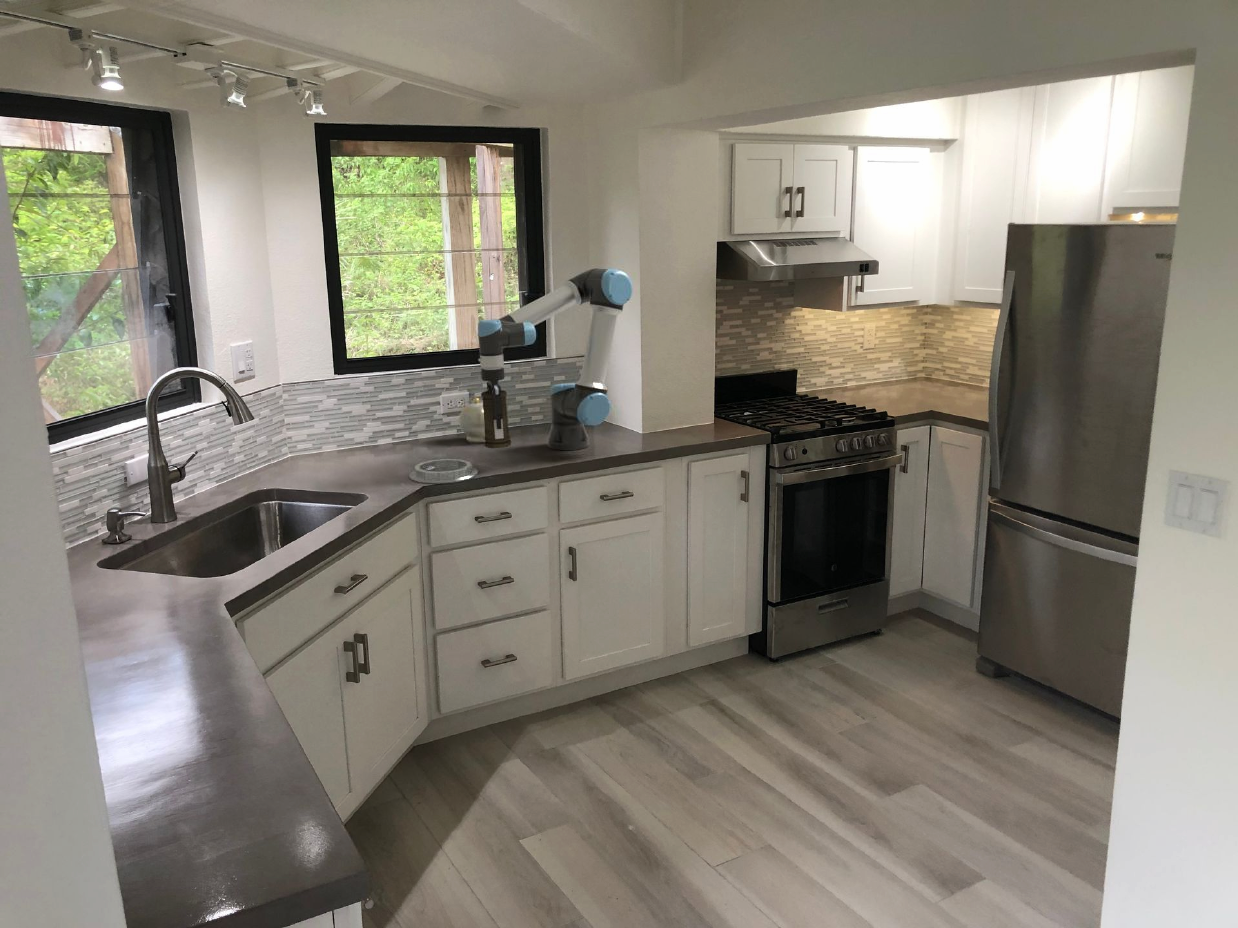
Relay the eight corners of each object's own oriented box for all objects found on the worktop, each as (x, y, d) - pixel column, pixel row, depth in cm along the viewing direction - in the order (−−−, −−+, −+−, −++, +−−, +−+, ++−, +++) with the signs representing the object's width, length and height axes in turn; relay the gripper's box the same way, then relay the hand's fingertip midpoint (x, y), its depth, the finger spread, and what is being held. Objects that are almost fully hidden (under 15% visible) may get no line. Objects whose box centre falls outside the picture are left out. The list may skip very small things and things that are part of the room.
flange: (472, 464, 330) (472, 455, 329) (482, 480, 309) (481, 471, 308) (407, 469, 324) (406, 460, 323) (412, 486, 303) (411, 476, 303)
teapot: (451, 441, 364) (448, 398, 360) (476, 435, 375) (474, 393, 371) (486, 447, 354) (484, 403, 350) (511, 440, 364) (509, 397, 360)
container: (506, 448, 317) (502, 394, 313) (480, 448, 319) (476, 394, 314) (514, 442, 326) (511, 389, 321) (489, 441, 328) (485, 389, 323)
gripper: (476, 364, 324) (481, 430, 330) (485, 373, 305) (490, 443, 311) (498, 362, 326) (503, 427, 332) (509, 371, 307) (513, 441, 313)
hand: (497, 435), depth 322 cm, fingers closed on container, 8 cm apart
